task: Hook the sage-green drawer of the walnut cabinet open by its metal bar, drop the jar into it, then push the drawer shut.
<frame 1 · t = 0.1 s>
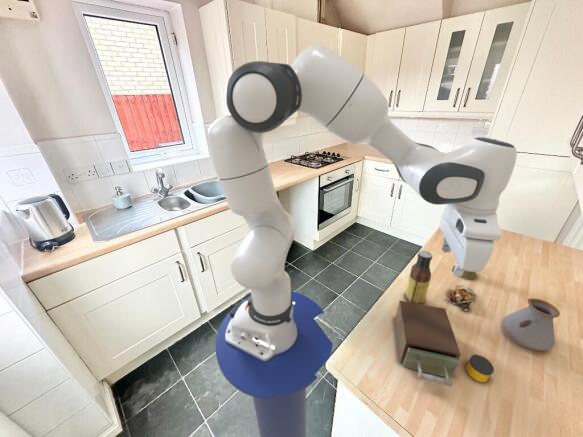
hand: (450, 261, 61), 28 cm above the counter, tool pointing down, fingers open, 8 cm apart
cork: (465, 274, 97), on the counter
pastry: (459, 297, 87), on the counter
jar: (476, 372, 64), on the counter
sauce bottle: (413, 299, 86), on the counter
cabinet: (419, 343, 71), on the counter
drawer: (426, 349, 65), point 4 cm above the counter, slide at 0.5 cm
coffee pot: (515, 345, 71), on the counter
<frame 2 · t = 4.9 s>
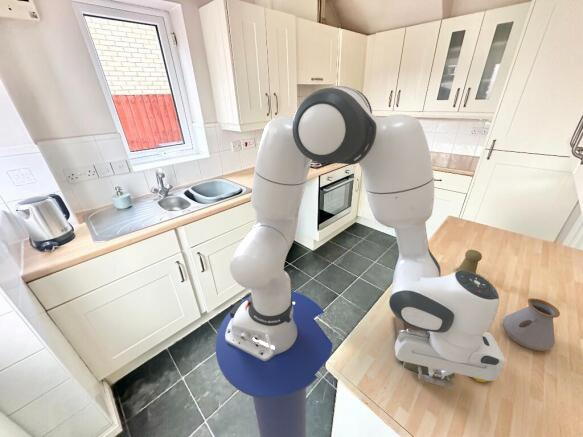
hand: (435, 374, 58), 6 cm above the counter, tool pointing down, fingers closed, pressing on drawer
drawer: (426, 350, 65), point 4 cm above the counter, slide at 0.9 cm, touching gripper
everything else where it was.
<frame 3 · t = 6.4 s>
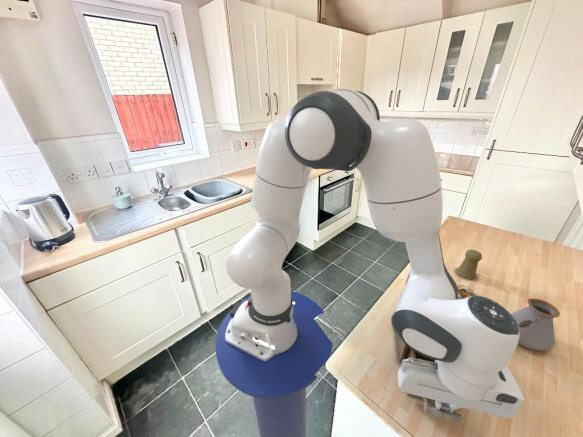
hand: (443, 407, 52), 6 cm above the counter, tool pointing down, fingers closed, pressing on drawer
drawer: (432, 376, 59), point 4 cm above the counter, slide at 7.8 cm, touching gripper
everything else where it was.
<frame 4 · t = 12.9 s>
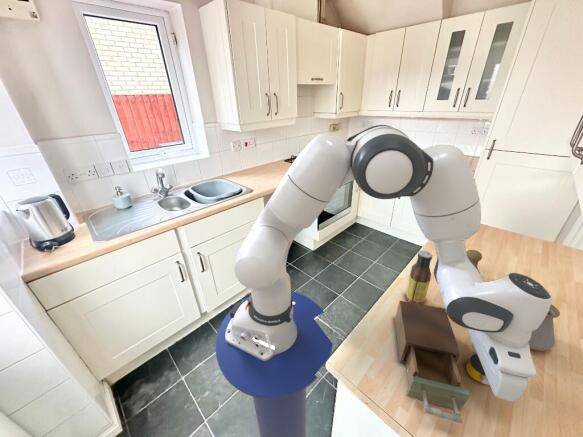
hand: (479, 368, 63), 2 cm above the counter, tool pointing down, fingers closed on jar, 5 cm apart
jar: (476, 372, 64), on the counter, touching gripper
drawer: (432, 376, 59), point 4 cm above the counter, slide at 7.8 cm
everything else where it was.
when the fingers open (9 cm above the counter, at t = 18.5 s): jar drops 5 cm, resting on drawer.
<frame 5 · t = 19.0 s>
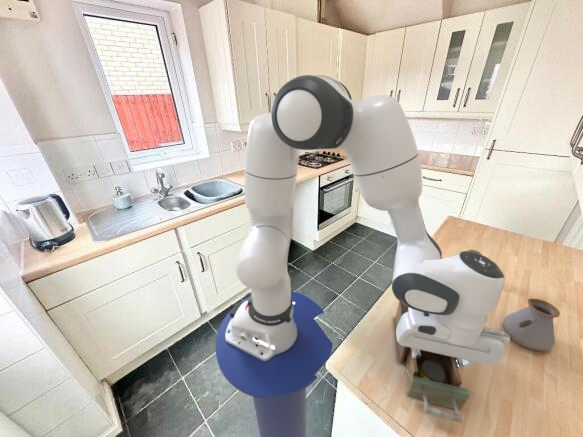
hand: (437, 360, 57), 10 cm above the counter, tool pointing down, fingers open, 8 cm apart
jar: (429, 378, 61), point 2 cm above the counter, touching drawer
drawer: (432, 376, 59), point 4 cm above the counter, slide at 7.8 cm, touching jar
everything else where it was.
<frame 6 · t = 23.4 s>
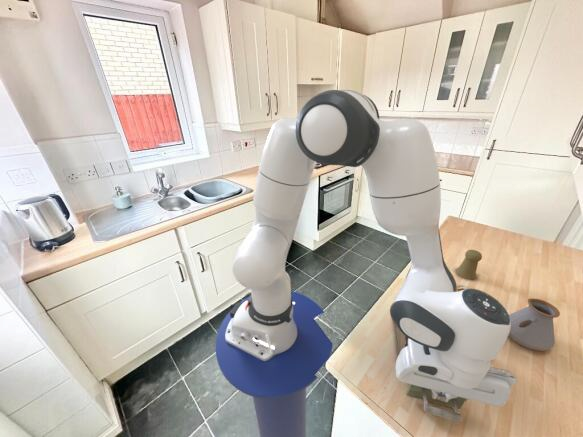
hand: (438, 397, 55), 5 cm above the counter, tool pointing down, fingers closed
drawer: (432, 375, 59), point 4 cm above the counter, slide at 7.6 cm, touching jar, gripper
everything else where it was.
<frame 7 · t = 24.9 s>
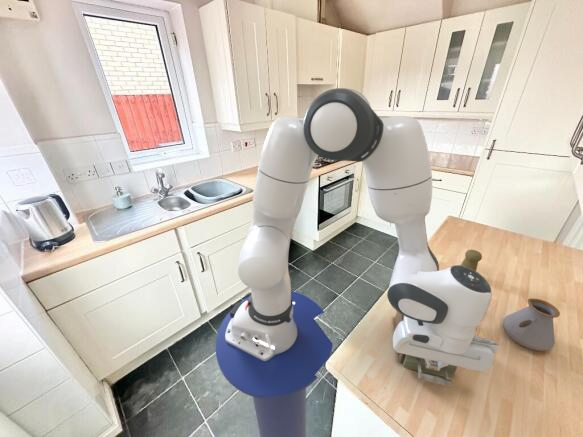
hand: (431, 366, 61), 5 cm above the counter, tool pointing down, fingers closed, pressing on drawer
jar: (423, 352, 67), point 2 cm above the counter, touching drawer
drawer: (426, 349, 65), point 4 cm above the counter, slide at 0.6 cm, touching jar, gripper
everything else where it was.
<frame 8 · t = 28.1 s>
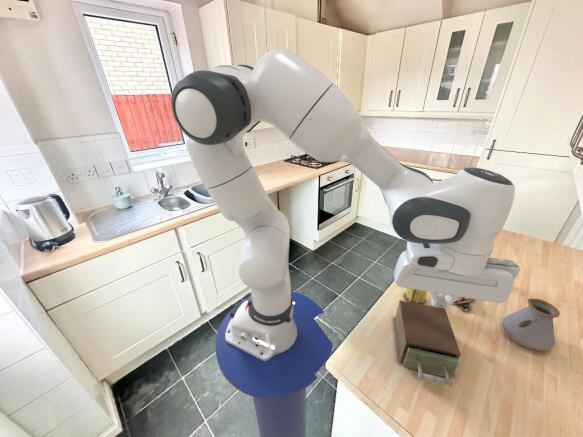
hand: (438, 305, 53), 25 cm above the counter, tool pointing down, fingers closed
drawer: (426, 349, 65), point 4 cm above the counter, slide at 0.5 cm, touching jar
everything else where it was.
at the end: drawer pulled out 7.8 cm at the most during the clip, back to 0.5 cm at the end; jar inside the target area in the cabinet (3.9 cm from its centre), point 2.0 cm above the cabinet's base; drawer slide at 0.5 cm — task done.
